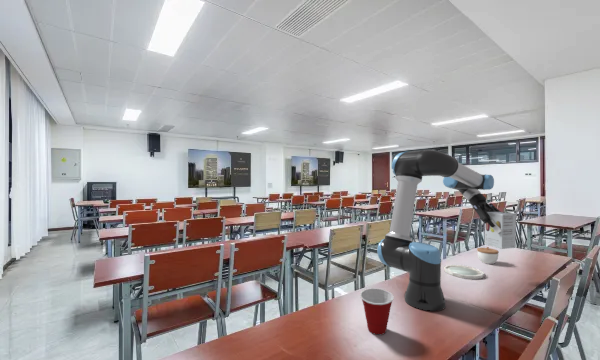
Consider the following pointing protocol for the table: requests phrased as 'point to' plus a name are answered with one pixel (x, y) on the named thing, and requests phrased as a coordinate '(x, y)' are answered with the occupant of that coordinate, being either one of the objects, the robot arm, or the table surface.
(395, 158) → the robot arm
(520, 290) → the table surface
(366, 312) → the plastic cup
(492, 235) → the supplement box
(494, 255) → the lidded jar
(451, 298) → the table surface
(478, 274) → the dish
